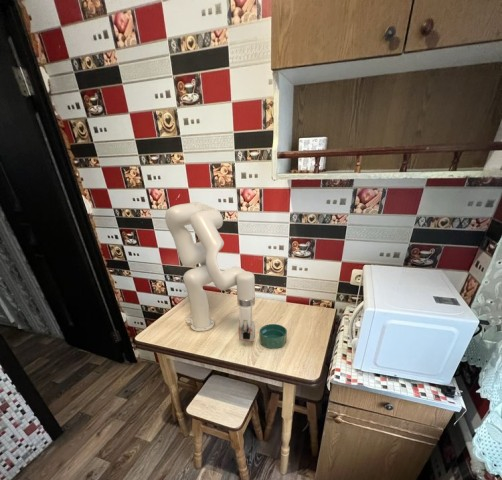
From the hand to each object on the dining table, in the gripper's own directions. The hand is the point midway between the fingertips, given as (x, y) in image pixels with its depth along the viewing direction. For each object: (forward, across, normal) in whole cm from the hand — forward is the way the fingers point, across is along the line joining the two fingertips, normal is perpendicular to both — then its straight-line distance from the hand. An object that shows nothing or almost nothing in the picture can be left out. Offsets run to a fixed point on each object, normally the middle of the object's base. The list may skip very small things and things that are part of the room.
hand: (247, 335), depth 129 cm
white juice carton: (+2, 0, 0) cm, 2 cm away
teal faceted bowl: (+6, -4, +12) cm, 14 cm away
